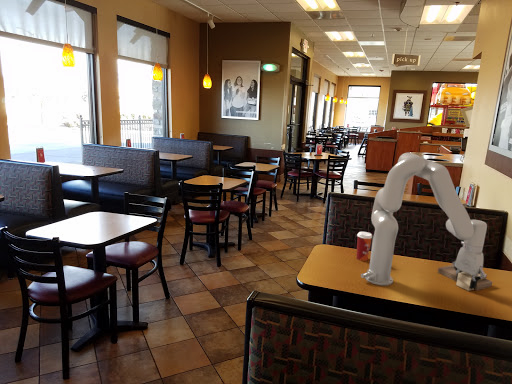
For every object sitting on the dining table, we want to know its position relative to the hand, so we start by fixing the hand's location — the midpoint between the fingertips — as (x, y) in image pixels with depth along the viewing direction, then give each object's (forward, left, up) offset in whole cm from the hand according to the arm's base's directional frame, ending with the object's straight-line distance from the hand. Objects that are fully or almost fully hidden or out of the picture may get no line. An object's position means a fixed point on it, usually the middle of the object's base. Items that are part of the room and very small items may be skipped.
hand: (465, 284), depth 168 cm
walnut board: (+8, +6, -2) cm, 10 cm away
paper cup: (-22, +43, -2) cm, 48 cm away
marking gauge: (+6, 0, -1) cm, 6 cm away
